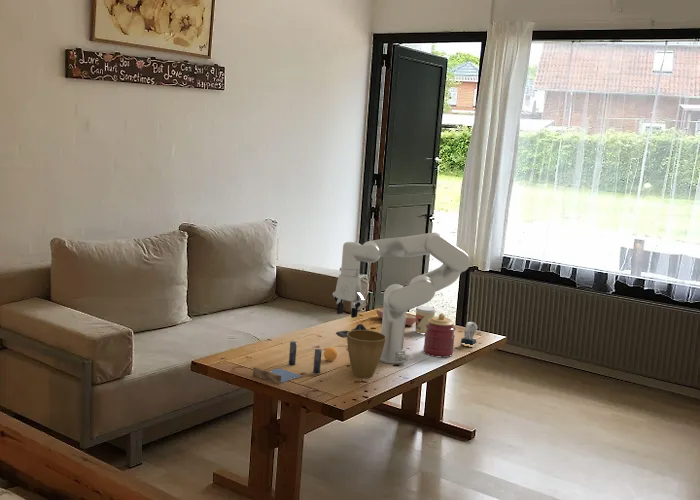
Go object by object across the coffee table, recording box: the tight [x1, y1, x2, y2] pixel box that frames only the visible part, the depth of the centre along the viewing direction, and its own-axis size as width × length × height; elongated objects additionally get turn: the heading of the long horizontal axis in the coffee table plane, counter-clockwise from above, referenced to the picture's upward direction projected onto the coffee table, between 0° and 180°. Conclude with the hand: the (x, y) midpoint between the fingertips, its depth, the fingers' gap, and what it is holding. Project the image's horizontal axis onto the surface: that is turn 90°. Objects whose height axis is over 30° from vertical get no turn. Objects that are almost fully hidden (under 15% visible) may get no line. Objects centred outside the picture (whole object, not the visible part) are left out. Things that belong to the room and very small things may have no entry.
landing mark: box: [270, 367, 302, 384], centre depth 284 cm, size 12×12×1 cm
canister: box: [423, 313, 456, 358], centre depth 330 cm, size 13×13×18 cm
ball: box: [323, 346, 338, 362], centre depth 307 cm, size 6×6×6 cm
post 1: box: [288, 340, 298, 366], centre depth 298 cm, size 3×3×9 cm
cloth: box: [335, 323, 368, 339], centre depth 349 cm, size 22×19×6 cm
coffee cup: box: [415, 305, 436, 333], centre depth 364 cm, size 9×9×12 cm
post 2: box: [312, 348, 323, 374], centre depth 291 cm, size 3×3×9 cm
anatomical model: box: [376, 307, 416, 327], centre depth 380 cm, size 23×10×5 cm, turn 49°
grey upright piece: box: [460, 321, 478, 345], centre depth 347 cm, size 6×8×11 cm
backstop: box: [252, 366, 282, 385], centre depth 278 cm, size 13×1×3 cm, turn 53°
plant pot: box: [346, 329, 386, 379], centre depth 291 cm, size 15×15×16 cm
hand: (346, 314), depth 312 cm, fingers open, 6 cm apart
